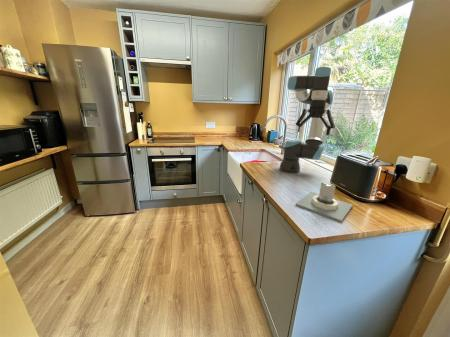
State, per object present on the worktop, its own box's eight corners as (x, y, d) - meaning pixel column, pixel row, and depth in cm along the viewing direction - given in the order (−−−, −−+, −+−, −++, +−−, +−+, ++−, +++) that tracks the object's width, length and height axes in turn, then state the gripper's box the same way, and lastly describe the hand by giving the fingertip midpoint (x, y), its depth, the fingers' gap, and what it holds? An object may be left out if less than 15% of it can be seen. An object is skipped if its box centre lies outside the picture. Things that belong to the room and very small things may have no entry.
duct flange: (310, 193, 106) (311, 188, 105) (352, 206, 92) (353, 200, 92) (295, 205, 92) (296, 199, 91) (341, 222, 79) (342, 216, 78)
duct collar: (315, 203, 92) (319, 184, 89) (319, 200, 96) (323, 181, 93) (328, 208, 88) (333, 188, 85) (332, 204, 92) (337, 185, 89)
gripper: (292, 99, 106) (287, 137, 112) (343, 99, 89) (333, 143, 96) (298, 100, 111) (293, 136, 117) (347, 99, 94) (338, 142, 101)
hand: (311, 139), depth 106 cm, fingers open, 13 cm apart
